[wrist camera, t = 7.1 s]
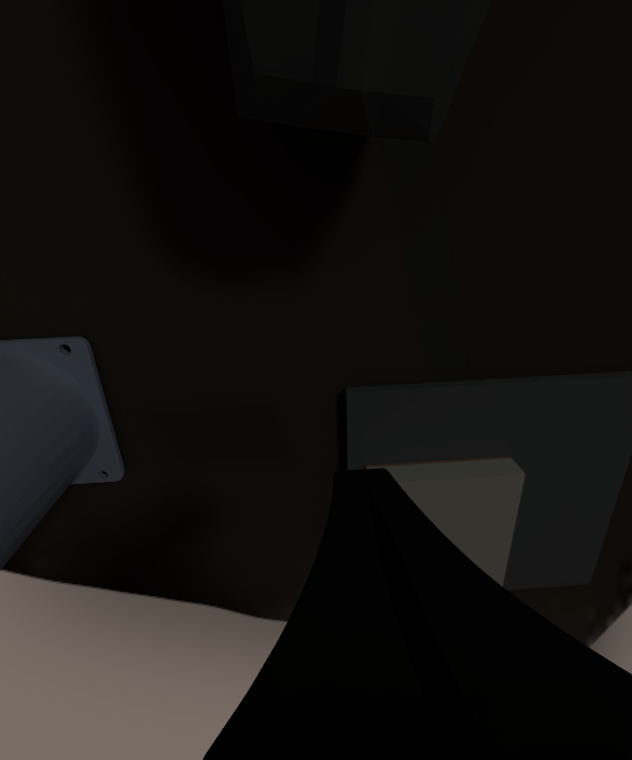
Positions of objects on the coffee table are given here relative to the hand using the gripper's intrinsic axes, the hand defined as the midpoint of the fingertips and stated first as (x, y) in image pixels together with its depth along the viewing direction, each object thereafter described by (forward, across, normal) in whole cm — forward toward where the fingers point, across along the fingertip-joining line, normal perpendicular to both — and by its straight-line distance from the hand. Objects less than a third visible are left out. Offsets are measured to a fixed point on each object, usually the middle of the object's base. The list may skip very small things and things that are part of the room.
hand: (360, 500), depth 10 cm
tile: (+9, -6, +6) cm, 12 cm away
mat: (+10, -9, +9) cm, 16 cm away
